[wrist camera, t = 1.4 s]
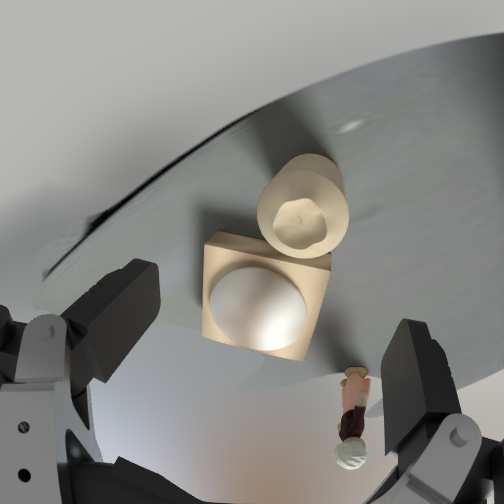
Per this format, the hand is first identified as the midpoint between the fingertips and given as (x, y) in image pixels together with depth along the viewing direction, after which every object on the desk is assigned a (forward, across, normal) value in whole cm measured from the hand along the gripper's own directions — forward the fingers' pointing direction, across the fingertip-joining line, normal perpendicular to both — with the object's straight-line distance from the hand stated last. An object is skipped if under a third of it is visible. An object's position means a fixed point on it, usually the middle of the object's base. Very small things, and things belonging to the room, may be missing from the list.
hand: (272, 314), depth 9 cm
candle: (+18, 0, 0) cm, 18 cm away
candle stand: (+18, +2, +12) cm, 22 cm away
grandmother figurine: (+18, -10, +21) cm, 30 cm away
